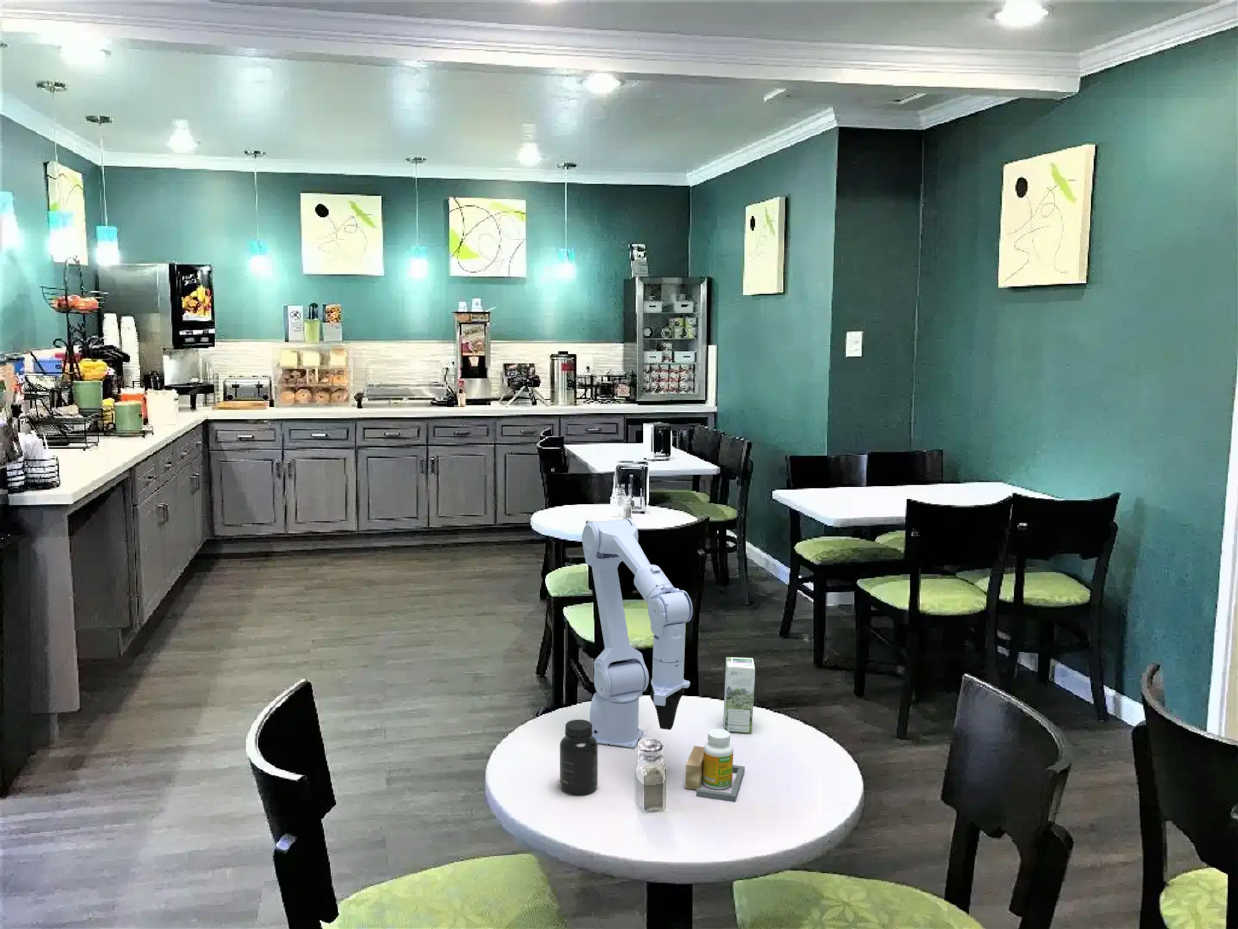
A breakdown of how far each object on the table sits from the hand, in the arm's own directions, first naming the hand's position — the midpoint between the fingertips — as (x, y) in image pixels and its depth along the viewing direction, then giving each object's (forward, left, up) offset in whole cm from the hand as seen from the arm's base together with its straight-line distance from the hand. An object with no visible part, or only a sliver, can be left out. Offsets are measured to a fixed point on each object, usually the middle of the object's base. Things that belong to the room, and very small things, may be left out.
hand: (666, 727), depth 185 cm
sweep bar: (+6, 0, -9) cm, 11 cm away
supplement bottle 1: (-14, -9, -10) cm, 19 cm away
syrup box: (+10, +25, -10) cm, 29 cm away
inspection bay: (+10, 0, -9) cm, 14 cm away
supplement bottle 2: (+10, 0, -10) cm, 14 cm away
